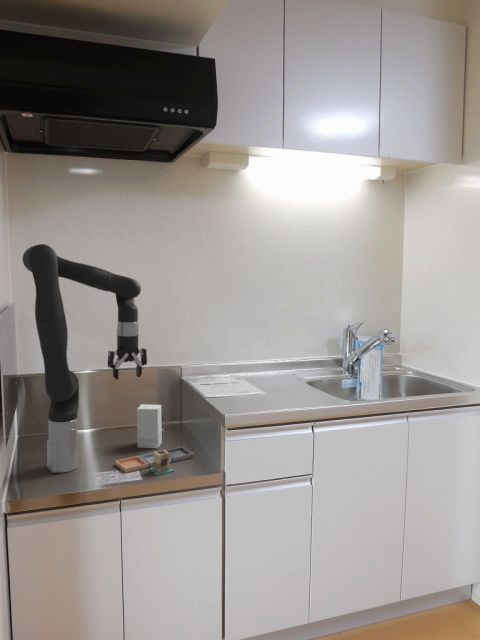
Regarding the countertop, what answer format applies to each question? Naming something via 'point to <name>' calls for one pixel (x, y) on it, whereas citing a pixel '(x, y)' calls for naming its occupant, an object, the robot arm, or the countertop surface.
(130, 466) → the dish terracotta
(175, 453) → the dish charcoal
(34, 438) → the countertop surface
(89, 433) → the countertop surface
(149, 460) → the dish slate
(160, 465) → the letter block
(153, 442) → the skincare box
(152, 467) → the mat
